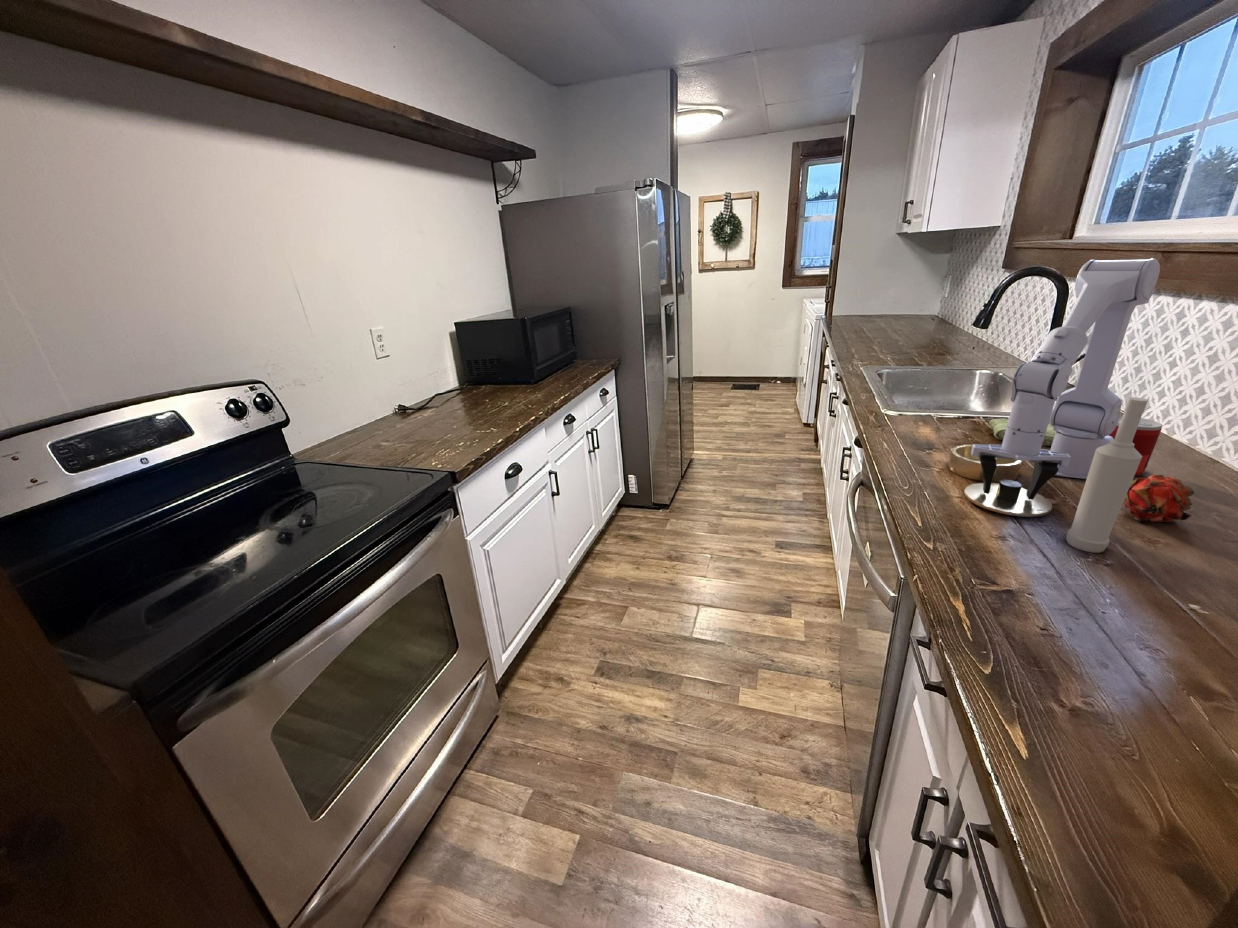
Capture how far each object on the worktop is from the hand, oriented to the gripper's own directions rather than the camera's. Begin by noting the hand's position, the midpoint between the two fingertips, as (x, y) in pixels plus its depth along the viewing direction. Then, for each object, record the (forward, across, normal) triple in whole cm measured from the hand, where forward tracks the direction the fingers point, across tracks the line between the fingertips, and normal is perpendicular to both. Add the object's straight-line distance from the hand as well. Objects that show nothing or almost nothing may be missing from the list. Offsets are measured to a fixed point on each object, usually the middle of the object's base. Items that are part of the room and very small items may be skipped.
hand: (1007, 494), depth 96 cm
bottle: (+2, +9, -13) cm, 16 cm away
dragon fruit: (+2, +22, +2) cm, 22 cm away
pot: (+2, -2, +16) cm, 16 cm away
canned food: (+2, +24, +27) cm, 36 cm away
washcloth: (+2, +12, +45) cm, 47 cm away
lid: (+1, 0, 0) cm, 1 cm away
